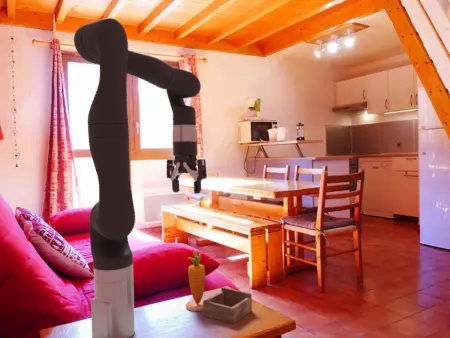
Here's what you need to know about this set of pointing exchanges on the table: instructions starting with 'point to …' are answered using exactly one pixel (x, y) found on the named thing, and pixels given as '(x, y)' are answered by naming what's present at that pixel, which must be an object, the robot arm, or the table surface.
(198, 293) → the carrot
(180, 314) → the table surface
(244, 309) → the brown open box
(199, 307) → the peach dome
